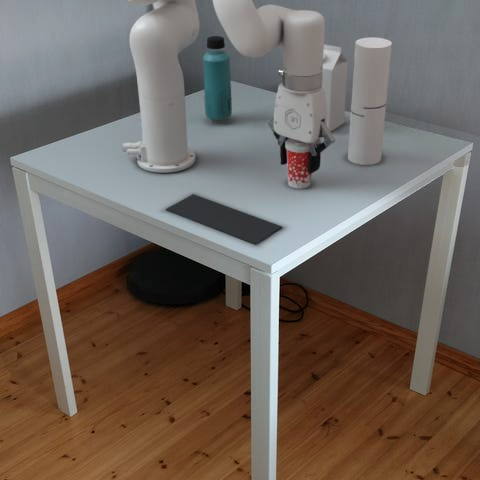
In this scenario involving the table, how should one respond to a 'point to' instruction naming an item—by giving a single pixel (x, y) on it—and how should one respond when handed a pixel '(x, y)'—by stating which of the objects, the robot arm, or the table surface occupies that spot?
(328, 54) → the milk carton
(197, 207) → the mat
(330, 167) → the table surface
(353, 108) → the cylindrical container
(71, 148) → the table surface
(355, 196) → the table surface
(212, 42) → the beverage bottle
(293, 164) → the beverage cup
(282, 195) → the table surface
